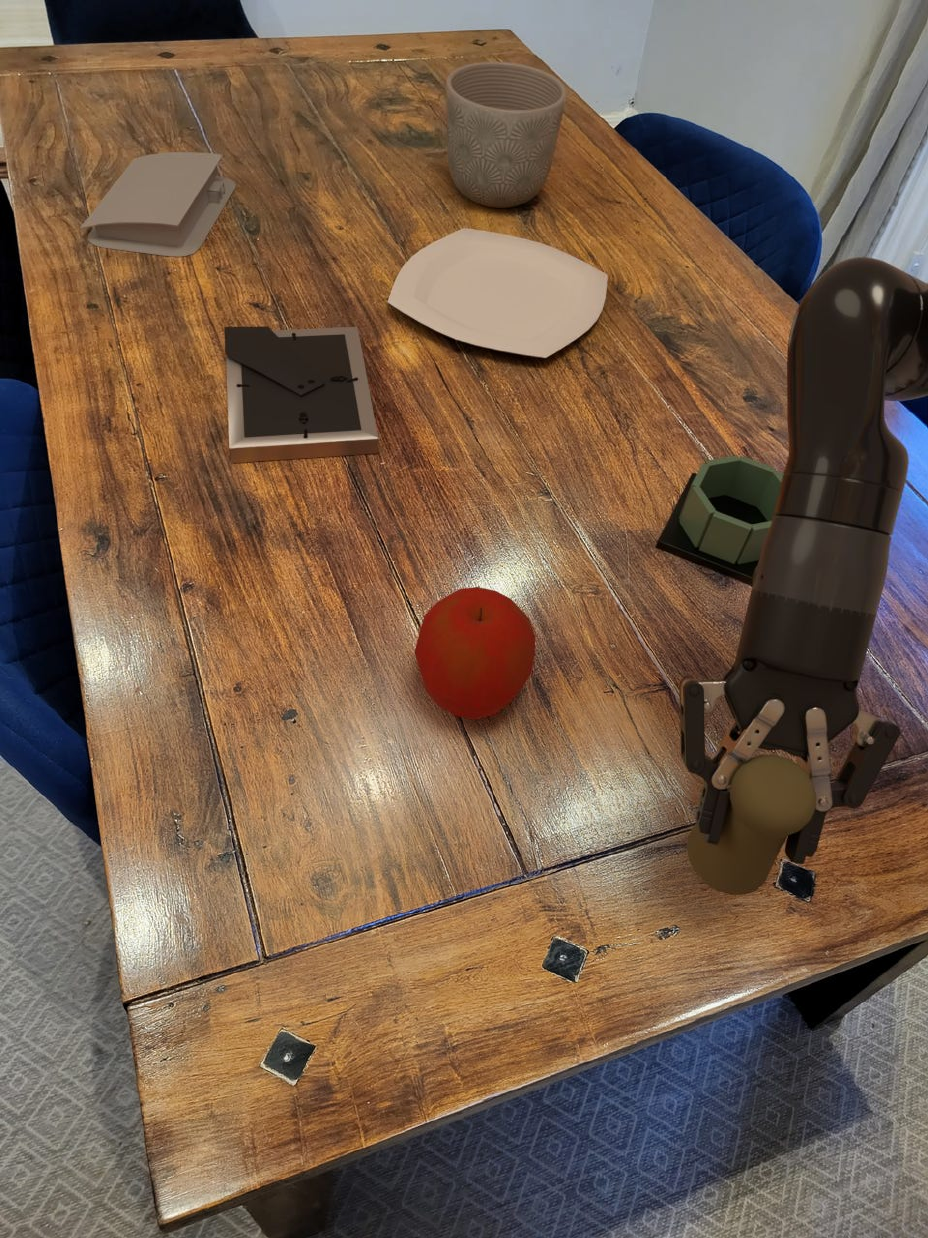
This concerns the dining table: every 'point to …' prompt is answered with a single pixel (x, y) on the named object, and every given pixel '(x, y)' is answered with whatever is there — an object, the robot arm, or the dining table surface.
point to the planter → (502, 130)
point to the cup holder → (724, 516)
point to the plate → (500, 292)
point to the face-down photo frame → (297, 394)
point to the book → (161, 205)
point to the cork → (754, 824)
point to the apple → (475, 652)
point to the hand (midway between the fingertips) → (751, 848)
